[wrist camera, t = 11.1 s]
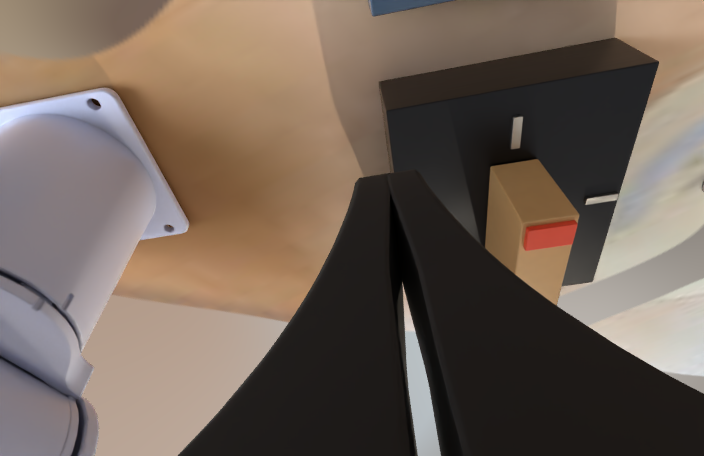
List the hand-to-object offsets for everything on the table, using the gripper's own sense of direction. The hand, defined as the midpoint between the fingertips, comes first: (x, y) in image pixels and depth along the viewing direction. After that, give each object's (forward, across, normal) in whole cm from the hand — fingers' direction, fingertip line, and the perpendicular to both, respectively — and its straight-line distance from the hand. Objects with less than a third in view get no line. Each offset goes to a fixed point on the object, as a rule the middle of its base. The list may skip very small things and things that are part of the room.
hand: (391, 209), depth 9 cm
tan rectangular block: (+7, -5, +7) cm, 12 cm away
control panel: (+10, -5, +7) cm, 14 cm away
